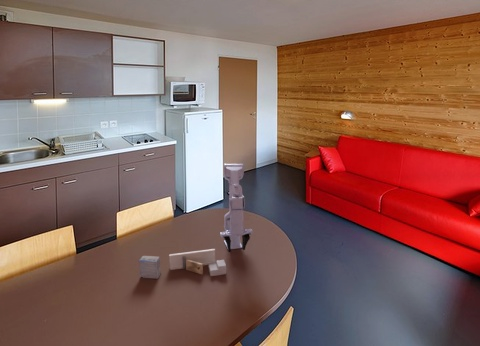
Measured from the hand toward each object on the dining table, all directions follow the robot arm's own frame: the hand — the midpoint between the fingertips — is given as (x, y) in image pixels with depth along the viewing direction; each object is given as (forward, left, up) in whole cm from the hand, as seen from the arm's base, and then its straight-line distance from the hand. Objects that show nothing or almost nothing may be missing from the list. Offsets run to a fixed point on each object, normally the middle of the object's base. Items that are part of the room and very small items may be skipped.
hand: (236, 250), depth 139 cm
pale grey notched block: (0, -9, -10) cm, 13 cm away
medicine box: (-4, -38, -10) cm, 40 cm away
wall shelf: (-8, -19, -10) cm, 23 cm away
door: (-3, -19, -10) cm, 22 cm away
